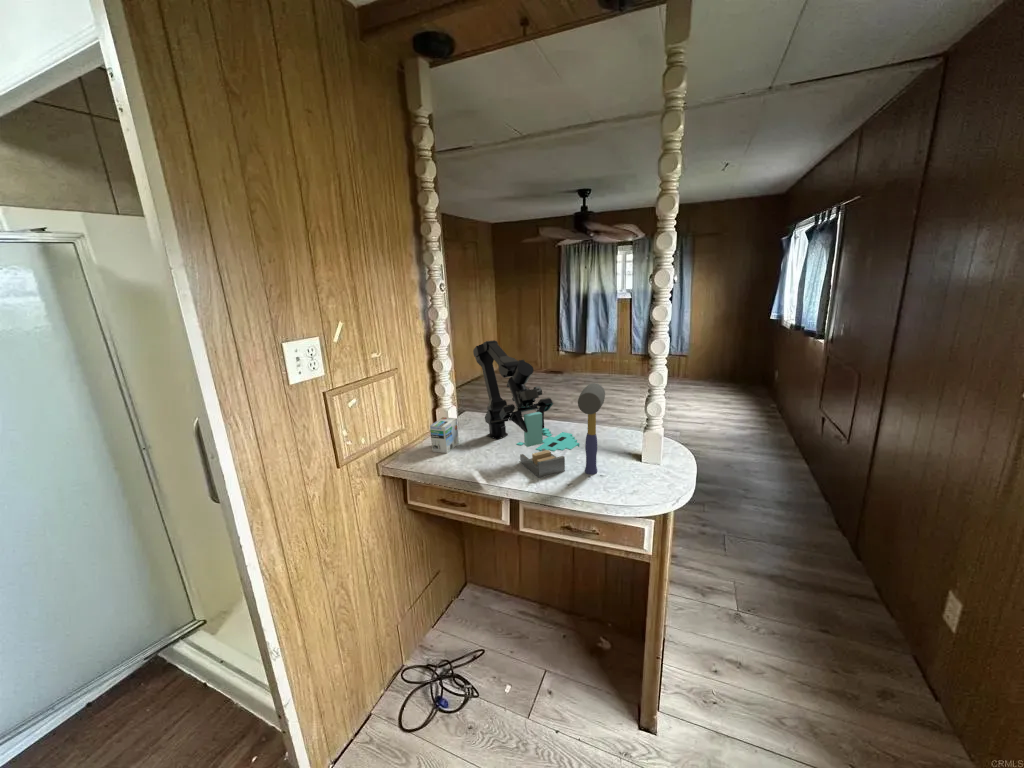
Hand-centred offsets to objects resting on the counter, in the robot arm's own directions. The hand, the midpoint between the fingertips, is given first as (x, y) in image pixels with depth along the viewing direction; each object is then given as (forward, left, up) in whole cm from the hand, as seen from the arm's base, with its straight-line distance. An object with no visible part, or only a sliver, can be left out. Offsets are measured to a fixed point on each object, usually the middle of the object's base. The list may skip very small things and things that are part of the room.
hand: (535, 430), depth 132 cm
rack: (+3, -1, -13) cm, 14 cm away
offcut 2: (+7, -3, -12) cm, 14 cm away
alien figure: (-7, +18, -14) cm, 24 cm away
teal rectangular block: (-1, +1, -6) cm, 6 cm away
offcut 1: (+4, -1, -12) cm, 12 cm away
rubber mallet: (+19, +5, -13) cm, 23 cm away
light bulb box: (-38, -9, -13) cm, 42 cm away
